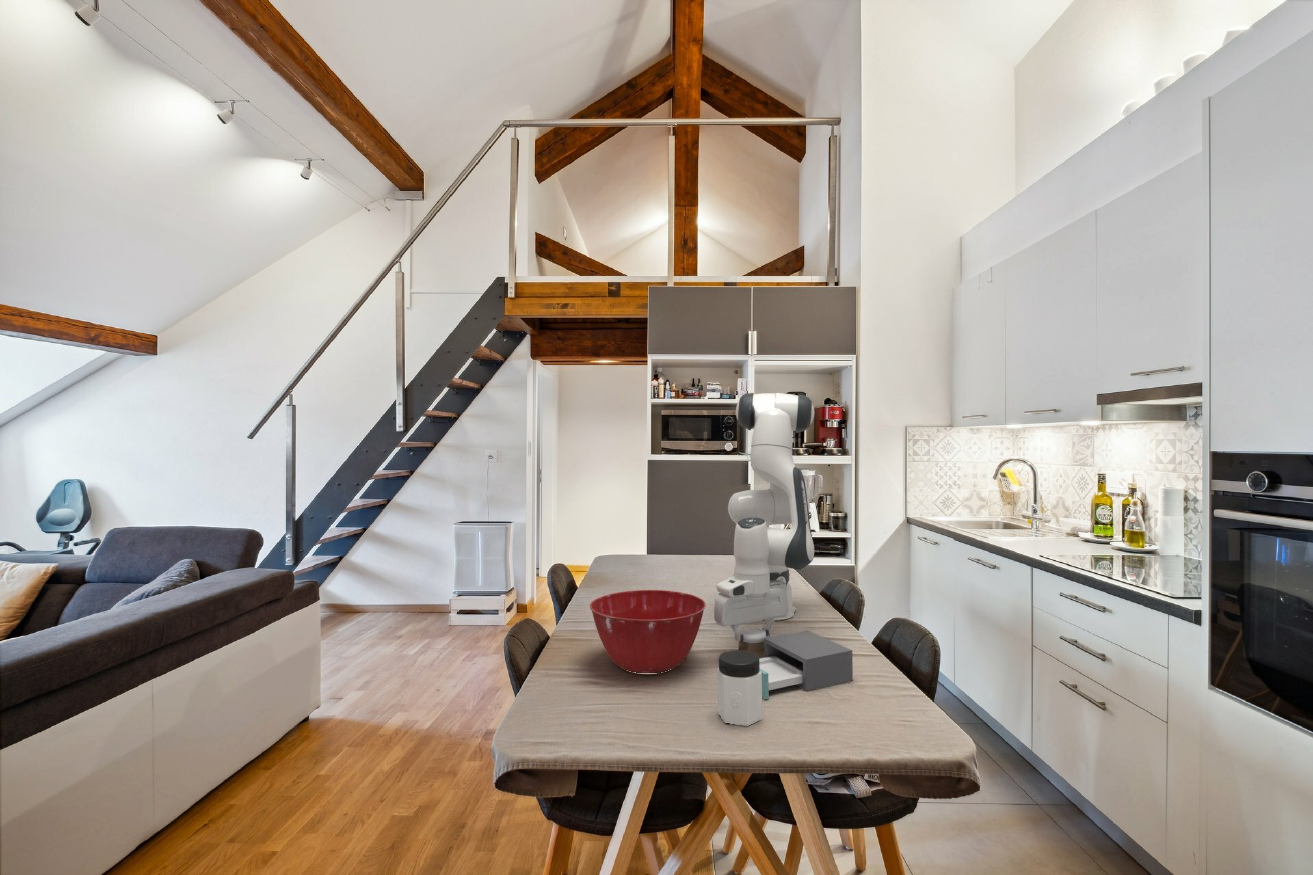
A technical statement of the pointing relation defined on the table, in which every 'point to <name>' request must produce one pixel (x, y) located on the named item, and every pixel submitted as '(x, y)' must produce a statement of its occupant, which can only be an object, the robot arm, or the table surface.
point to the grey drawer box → (812, 658)
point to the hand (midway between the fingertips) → (752, 638)
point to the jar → (739, 687)
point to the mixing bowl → (648, 628)
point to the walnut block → (753, 648)
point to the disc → (753, 635)
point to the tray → (778, 674)
